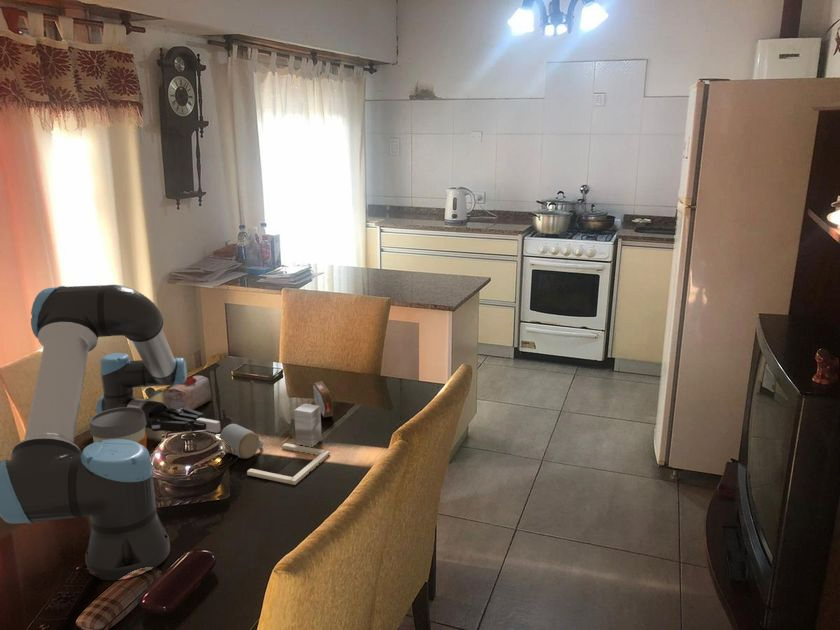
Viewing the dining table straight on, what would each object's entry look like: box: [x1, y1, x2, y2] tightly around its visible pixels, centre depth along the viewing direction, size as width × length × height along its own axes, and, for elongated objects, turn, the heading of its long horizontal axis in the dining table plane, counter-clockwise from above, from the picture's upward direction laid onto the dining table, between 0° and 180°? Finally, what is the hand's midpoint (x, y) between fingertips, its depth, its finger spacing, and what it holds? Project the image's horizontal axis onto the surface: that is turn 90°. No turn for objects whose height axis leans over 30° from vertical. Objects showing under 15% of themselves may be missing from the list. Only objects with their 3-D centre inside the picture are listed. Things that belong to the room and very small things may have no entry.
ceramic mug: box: [218, 423, 264, 459], centre depth 175 cm, size 11×8×8 cm
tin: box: [312, 380, 334, 418], centre depth 201 cm, size 15×3×8 cm, turn 22°
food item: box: [164, 375, 213, 410], centre depth 204 cm, size 14×8×10 cm, turn 160°
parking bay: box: [246, 442, 331, 486], centre depth 169 cm, size 17×14×1 cm
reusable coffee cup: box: [89, 407, 148, 449], centre depth 163 cm, size 13×13×15 cm
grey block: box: [293, 403, 323, 448], centre depth 180 cm, size 5×5×10 cm
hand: (218, 427), depth 176 cm, fingers closed
